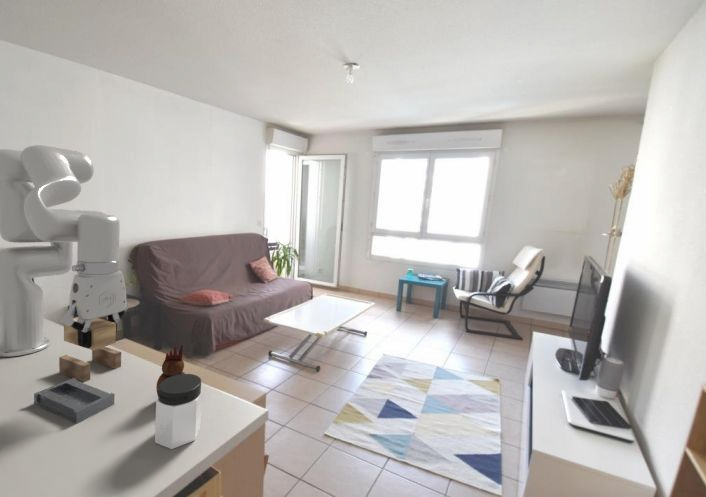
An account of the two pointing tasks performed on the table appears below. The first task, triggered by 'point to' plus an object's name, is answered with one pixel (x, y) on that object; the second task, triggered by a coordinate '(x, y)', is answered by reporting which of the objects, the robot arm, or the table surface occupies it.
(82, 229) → the robot arm
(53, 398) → the grey shallow tray
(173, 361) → the wooden figurine
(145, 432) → the table surface
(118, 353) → the wooden blocks
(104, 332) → the cardboard-coloured box
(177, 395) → the jar
